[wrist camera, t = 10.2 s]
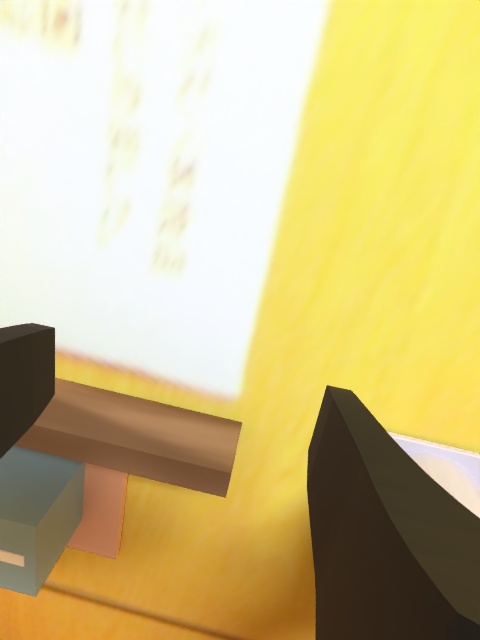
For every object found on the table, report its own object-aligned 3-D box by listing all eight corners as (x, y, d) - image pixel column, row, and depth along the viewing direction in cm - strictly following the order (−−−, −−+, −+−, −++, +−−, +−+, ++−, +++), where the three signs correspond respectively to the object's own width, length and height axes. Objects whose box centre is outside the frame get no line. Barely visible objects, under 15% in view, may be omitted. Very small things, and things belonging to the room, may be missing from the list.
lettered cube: (81, 519, 26) (34, 598, 22) (6, 500, 26) (-56, 574, 22) (85, 457, 24) (35, 528, 20) (5, 437, 25) (-64, 503, 20)
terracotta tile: (119, 551, 28) (115, 559, 27) (-22, 514, 28) (-29, 522, 28) (133, 430, 24) (129, 436, 23) (-31, 390, 24) (-38, 395, 24)
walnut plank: (236, 444, 23) (225, 497, 20) (-64, 371, 24) (-128, 409, 21) (241, 422, 23) (231, 473, 19) (-66, 349, 24) (-133, 383, 20)
